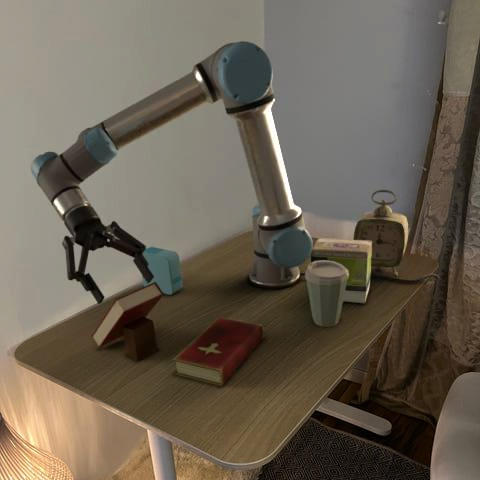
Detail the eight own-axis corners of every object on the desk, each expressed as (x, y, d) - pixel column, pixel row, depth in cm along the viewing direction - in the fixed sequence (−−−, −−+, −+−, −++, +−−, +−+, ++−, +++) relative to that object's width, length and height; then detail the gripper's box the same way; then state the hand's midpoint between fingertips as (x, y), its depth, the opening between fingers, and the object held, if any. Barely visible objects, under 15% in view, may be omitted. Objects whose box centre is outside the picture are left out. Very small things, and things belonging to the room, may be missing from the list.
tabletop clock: (351, 275, 156) (355, 192, 144) (357, 263, 163) (362, 184, 151) (401, 280, 150) (409, 195, 139) (405, 268, 158) (413, 186, 146)
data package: (183, 290, 153) (179, 252, 147) (173, 296, 150) (168, 257, 144) (153, 282, 159) (148, 245, 153) (143, 288, 156) (137, 250, 150)
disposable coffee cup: (352, 315, 133) (355, 261, 126) (339, 335, 125) (341, 278, 118) (313, 308, 138) (314, 256, 131) (298, 327, 130) (298, 271, 122)
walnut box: (157, 350, 124) (153, 320, 120) (137, 360, 120) (132, 331, 116) (147, 344, 126) (142, 315, 122) (127, 355, 122) (121, 325, 118)
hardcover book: (263, 339, 125) (263, 324, 123) (222, 386, 109) (221, 369, 107) (220, 330, 130) (219, 315, 128) (175, 374, 114) (172, 358, 112)
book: (164, 294, 117) (155, 281, 117) (124, 312, 110) (115, 298, 110) (135, 330, 132) (128, 318, 133) (99, 347, 125) (91, 336, 126)
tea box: (369, 289, 146) (373, 239, 139) (365, 304, 138) (368, 252, 131) (317, 284, 151) (318, 236, 144) (309, 299, 143) (310, 248, 136)
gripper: (117, 210, 129) (163, 279, 127) (24, 238, 114) (74, 317, 111) (127, 192, 123) (175, 264, 121) (29, 218, 108) (83, 302, 106)
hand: (127, 290), depth 116 cm, fingers open, 13 cm apart
